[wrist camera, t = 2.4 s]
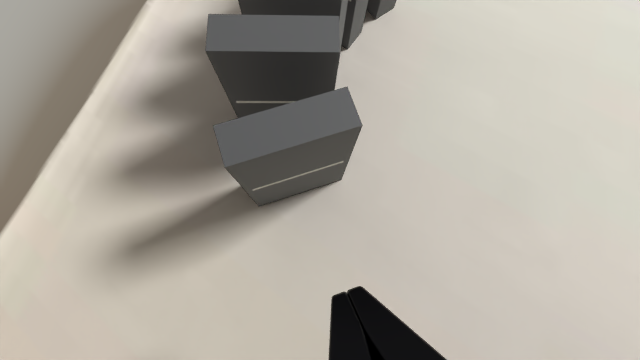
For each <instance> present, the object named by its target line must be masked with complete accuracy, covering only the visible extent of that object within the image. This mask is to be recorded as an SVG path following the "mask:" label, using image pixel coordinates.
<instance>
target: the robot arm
mask: <svg viewBox="0 0 640 360" xmlns="http://www.w3.org/2000/svg"><path fill="white" fill-rule="evenodd" d="M329 360H446V359H445V358H444V357H443V356H442V355H441V354H440V353H438V352H437V351H436V350H435V349H434V348H433V347H431V346H430V345H429V344H428V343H427V342H426V341H424V340H423V339H422V338H421V337H420V336H419V335H418V334H416V333H415V332H414V331H413V330H412V329H411V328H409V327H408V326H407V325H406V324H405V323H404V322H402V321H401V320H400V319H399V318H398V317H397V316H396V315H394V314H393V313H392V312H391V311H390V310H389V309H387V308H386V307H385V306H384V305H383V304H382V303H380V302H379V301H378V300H377V299H376V298H375V297H374V296H372V295H371V294H370V293H369V292H368V291H367V290H365V289H364V288H363V287H361V286H358V287H355V288H352V289H350V290H348V291H347V293H346V292H341V293H339V294H336V295H334V296H332V301H331V322H330V343H329Z"/></svg>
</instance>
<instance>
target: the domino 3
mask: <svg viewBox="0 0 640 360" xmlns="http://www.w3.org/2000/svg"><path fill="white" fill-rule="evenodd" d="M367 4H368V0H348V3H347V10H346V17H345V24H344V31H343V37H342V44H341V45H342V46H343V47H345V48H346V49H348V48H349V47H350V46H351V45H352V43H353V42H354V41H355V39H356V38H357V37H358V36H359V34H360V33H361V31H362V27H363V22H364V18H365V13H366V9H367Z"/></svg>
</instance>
